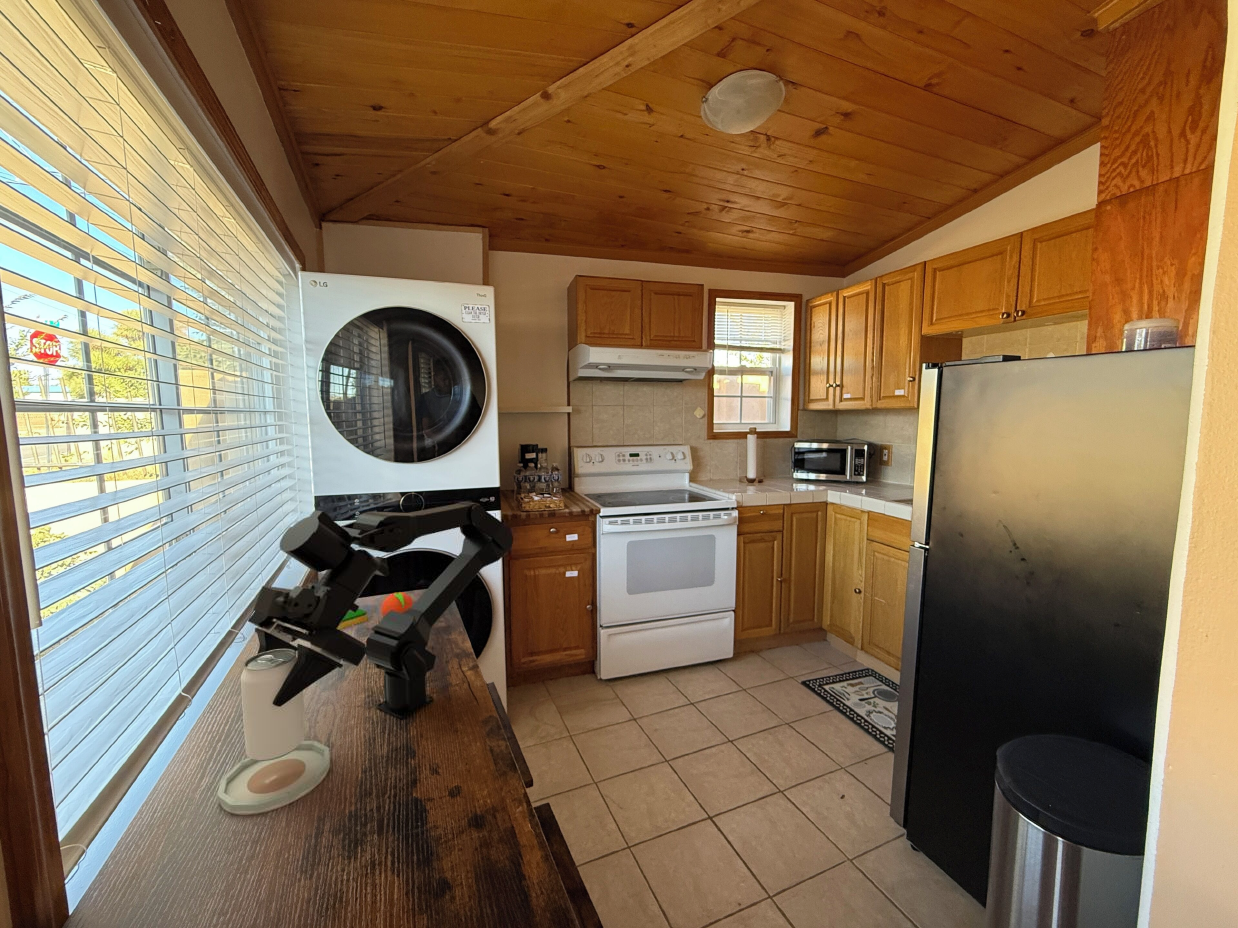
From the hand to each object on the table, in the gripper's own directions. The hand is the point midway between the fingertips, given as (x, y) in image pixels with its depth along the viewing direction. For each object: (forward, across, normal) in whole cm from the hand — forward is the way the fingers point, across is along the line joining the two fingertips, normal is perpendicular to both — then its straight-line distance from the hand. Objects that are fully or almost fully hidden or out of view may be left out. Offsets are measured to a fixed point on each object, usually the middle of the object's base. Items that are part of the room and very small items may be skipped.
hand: (261, 698), depth 65 cm
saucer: (+8, 0, +9) cm, 12 cm away
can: (+4, 0, +6) cm, 8 cm away
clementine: (-22, -30, +39) cm, 54 cm away
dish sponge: (-15, -42, +33) cm, 56 cm away
